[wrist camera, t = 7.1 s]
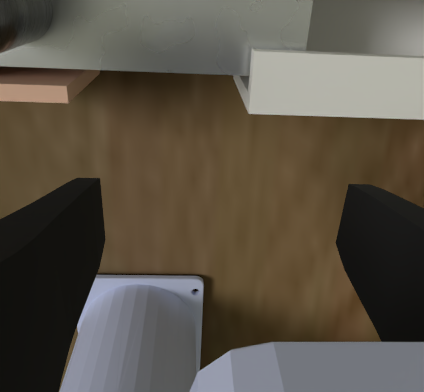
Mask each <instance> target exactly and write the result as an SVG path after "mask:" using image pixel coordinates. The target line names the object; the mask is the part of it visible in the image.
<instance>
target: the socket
mask: <svg viewBox="0 0 424 392" xmlns="http://www.w3.org/2000/svg"><path fill="white" fill-rule="evenodd" d="M99 74H100V70H86V69H60V68H34V67H8V66H0V101H18V102H48V103H69V102H70V101H71V100H72V99H73V98H74V97H76V96H77V95H78V94H79V93H80V92H81V91H82V90H83V89H84V88H85V87H86V86H87V85H88V84H89V83H90V82H91V81H92V80H93V79H95V78H96V77H97V76H98V75H99Z"/></svg>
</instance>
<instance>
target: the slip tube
mask: <svg viewBox="0 0 424 392" xmlns="http://www.w3.org/2000/svg"><path fill="white" fill-rule="evenodd" d="M312 4H313V0H0V66H8V67H34V68H60V69H86V70H112V71H138V72H164V73H189V74H215V75H241V76H250V64H251V53H252V49H270V50H294V51H306V46H307V39H308V32H309V25H310V18H311V11H312Z"/></svg>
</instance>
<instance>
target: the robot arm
mask: <svg viewBox="0 0 424 392" xmlns="http://www.w3.org/2000/svg"><path fill="white" fill-rule="evenodd" d="M104 243H105V230H104V219H103V208H102V197H101V185H100V178H76V179H74V180H72V181H70V182H68V183H66V184H64V185H63V186H61V187H59V188H57V189H56V190H54V191H52V192H50V193H49V194H47V195H45V196H43V197H42V198H40V199H38V200H37V201H35V202H33V203H31V204H29V205H27V206H25V207H23V208H21V209H20V210H18V211H16V212H14V213H12V214H10V215H8V216H6V217H4V218H2V219H0V392H58V391H59V387H60V383H61V379H62V375H63V371H64V367H65V363H66V359H67V356H68V352H69V348H70V344H71V341H72V338H73V335H74V332H75V329H76V327H77V329H78V337H77V340H76V343H75V346H74V349H73V352H72V355H71V358H70V361H69V364H68V367H67V371H66V374H65V377H64V380H63V383H62V386H61V389H60V392H424V208H422V207H419V206H417V205H415V204H413V203H411V202H409V201H407V200H405V199H403V198H401V197H399V196H397V195H394V194H392V193H390V192H388V191H386V190H383V189H381V188H378V187H376V186H372V185H365V184H349V185H348V190H347V194H346V199H345V203H344V208H343V212H342V217H341V221H340V226H339V231H338V235H337V240H336V245H337V248H338V251H339V255H340V258H341V261H342V263H343V266H344V269H345V271H346V273H347V275H348V277H349V279H350V281H351V283H352V285H353V287H354V289H355V291H356V293H357V295H358V297H359V298H360V300H361V302H362V304H363V306H364V308H365V310H366V312H367V314H368V315H369V317H370V319H371V321H372V323H373V325H374V327H375V329H376V331H377V333H378V335H379V337H380V339H381V341H382V342H267V343H262V344H257V345H251V346H246V347H241V348H236V349H232V350H230V351H228V352H227V353H225V354H224V355H222V356H221V357H219V358H218V359H216V360H215V361H214V362H212V363H211V364H209V365H208V366H206V367H205V368H203V369H202V370H200V357H201V335H202V313H203V291H204V282H203V279H202V278H201V277H199V276H167V275H97V272H98V269H99V266H100V262H101V257H102V253H103V248H104ZM193 289H198V291H193Z"/></svg>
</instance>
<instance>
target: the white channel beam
mask: <svg viewBox="0 0 424 392" xmlns="http://www.w3.org/2000/svg"><path fill="white" fill-rule="evenodd" d="M233 79H234V81H235V84H236V86H237V88H238V90H239V93H240V95H241V97H242V100H243V102H244V104H245V107H246V109H247V111H248V113H249V114H270V115H300V116H330V117H360V118H390V119H421V120H424V0H313V4H312V11H311V18H310V25H309V32H308V39H307V46H306V51H294V50H270V49H252V53H251V64H250V76H241V75H233Z"/></svg>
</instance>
